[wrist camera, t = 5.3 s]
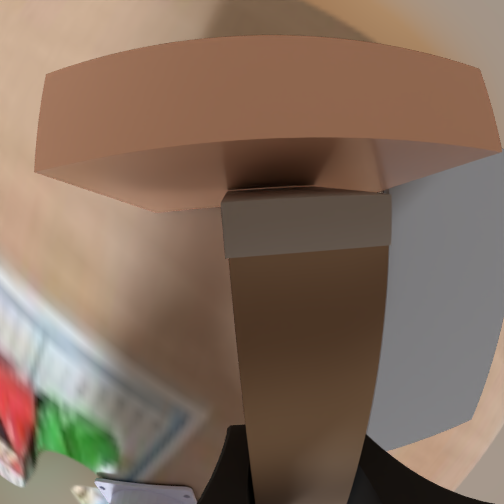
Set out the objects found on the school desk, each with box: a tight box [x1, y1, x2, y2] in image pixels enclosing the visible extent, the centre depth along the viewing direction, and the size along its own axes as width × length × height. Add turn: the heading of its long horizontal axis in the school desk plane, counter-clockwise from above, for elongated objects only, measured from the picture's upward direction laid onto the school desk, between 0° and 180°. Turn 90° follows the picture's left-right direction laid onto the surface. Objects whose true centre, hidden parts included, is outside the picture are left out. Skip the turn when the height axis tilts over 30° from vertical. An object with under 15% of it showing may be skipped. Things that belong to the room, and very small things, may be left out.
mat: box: [366, 149, 504, 451], centre depth 16 cm, size 20×10×1 cm, turn 4°
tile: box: [34, 35, 502, 213], centre depth 9 cm, size 2×9×9 cm, turn 94°
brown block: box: [221, 186, 392, 504], centre depth 9 cm, size 15×3×5 cm, turn 4°
